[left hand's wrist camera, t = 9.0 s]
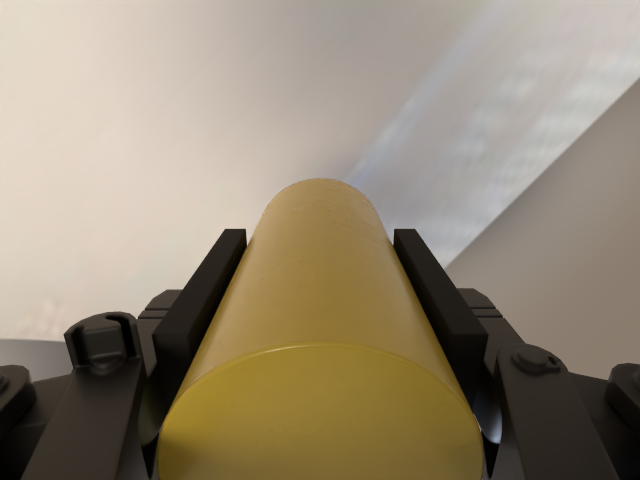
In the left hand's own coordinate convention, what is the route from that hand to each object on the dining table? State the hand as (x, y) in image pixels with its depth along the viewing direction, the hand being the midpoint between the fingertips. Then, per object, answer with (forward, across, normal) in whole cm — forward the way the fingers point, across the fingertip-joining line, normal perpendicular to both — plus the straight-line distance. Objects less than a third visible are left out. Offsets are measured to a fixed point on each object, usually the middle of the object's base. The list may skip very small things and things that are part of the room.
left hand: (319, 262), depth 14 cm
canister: (+3, 0, 0) cm, 3 cm away
